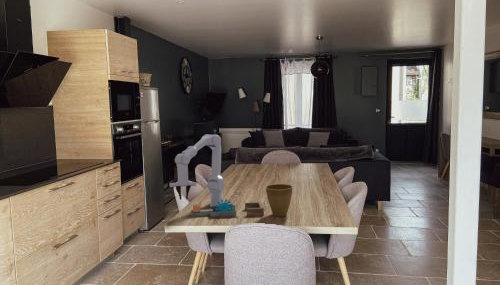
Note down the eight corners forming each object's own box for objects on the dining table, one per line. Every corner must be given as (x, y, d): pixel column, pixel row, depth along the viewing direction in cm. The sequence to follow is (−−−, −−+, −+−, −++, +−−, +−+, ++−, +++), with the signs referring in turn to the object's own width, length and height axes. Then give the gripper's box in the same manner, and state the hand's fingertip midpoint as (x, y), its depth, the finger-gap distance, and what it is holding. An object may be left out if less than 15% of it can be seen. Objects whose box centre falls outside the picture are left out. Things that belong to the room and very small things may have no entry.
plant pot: (290, 210, 217) (290, 183, 216) (294, 218, 202) (294, 189, 201) (265, 211, 217) (264, 184, 215) (267, 219, 202) (266, 190, 200)
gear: (213, 212, 211) (217, 197, 217) (214, 217, 215) (218, 202, 221) (232, 215, 209) (236, 200, 215) (233, 220, 214) (237, 205, 220)
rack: (244, 209, 222) (244, 202, 221) (260, 208, 223) (260, 201, 222) (246, 216, 208) (246, 209, 208) (263, 215, 209) (263, 208, 208)
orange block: (193, 213, 214) (193, 204, 214) (213, 212, 215) (212, 204, 215) (193, 215, 210) (192, 206, 210) (212, 214, 211) (212, 205, 211)
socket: (192, 211, 219) (192, 206, 219) (235, 209, 221) (235, 204, 221) (190, 218, 205) (190, 213, 205) (236, 216, 207) (236, 211, 207)
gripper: (168, 177, 205) (169, 201, 206) (195, 176, 206) (196, 200, 208) (170, 174, 212) (171, 198, 213) (196, 173, 213) (197, 197, 215)
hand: (183, 199), depth 211 cm, fingers open, 3 cm apart
